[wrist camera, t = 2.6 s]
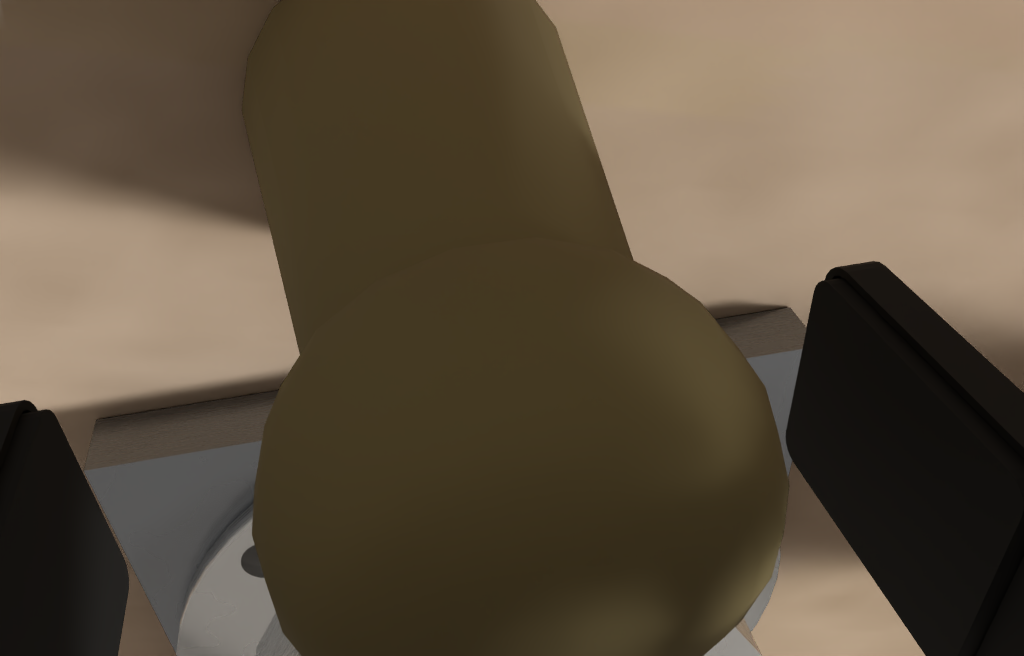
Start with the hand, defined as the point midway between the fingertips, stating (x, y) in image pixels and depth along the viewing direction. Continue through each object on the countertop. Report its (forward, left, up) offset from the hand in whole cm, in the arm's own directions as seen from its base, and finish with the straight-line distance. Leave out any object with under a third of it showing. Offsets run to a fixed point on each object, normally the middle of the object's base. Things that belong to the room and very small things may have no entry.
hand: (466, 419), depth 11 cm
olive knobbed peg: (-1, 0, -7) cm, 7 cm away
